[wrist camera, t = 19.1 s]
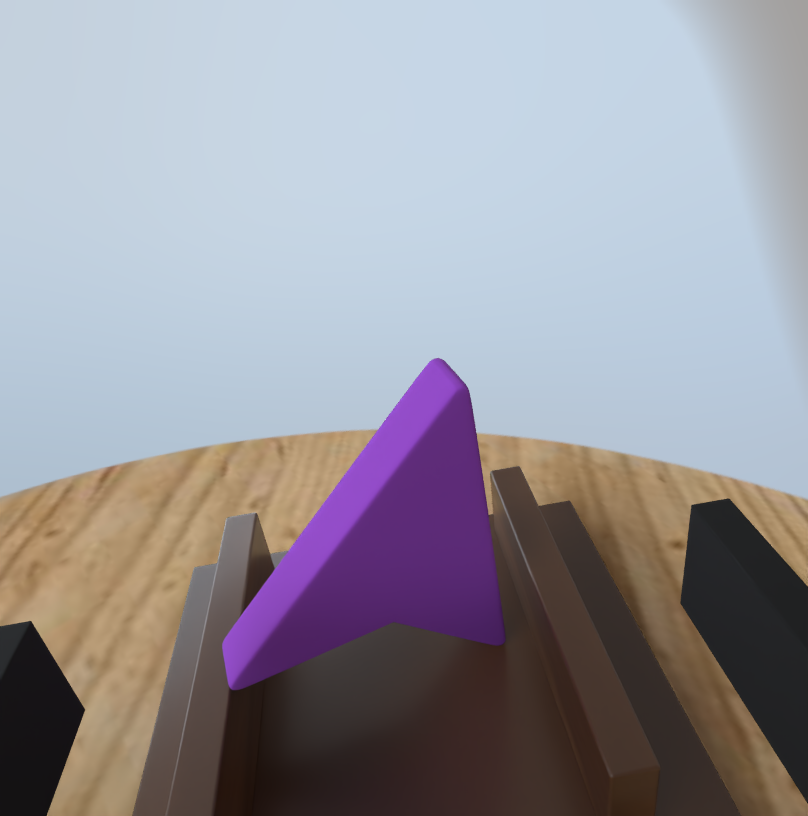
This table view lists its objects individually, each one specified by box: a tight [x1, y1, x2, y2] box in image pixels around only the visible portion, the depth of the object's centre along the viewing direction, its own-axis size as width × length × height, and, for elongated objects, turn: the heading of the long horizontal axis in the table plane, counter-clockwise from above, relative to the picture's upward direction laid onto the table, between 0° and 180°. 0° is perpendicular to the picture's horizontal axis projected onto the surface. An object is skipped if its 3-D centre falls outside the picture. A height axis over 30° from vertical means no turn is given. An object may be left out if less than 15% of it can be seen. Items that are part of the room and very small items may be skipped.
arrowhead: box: [222, 358, 506, 690], centre depth 19 cm, size 10×2×10 cm, turn 108°
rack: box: [132, 466, 741, 816], centre depth 20 cm, size 16×14×4 cm
